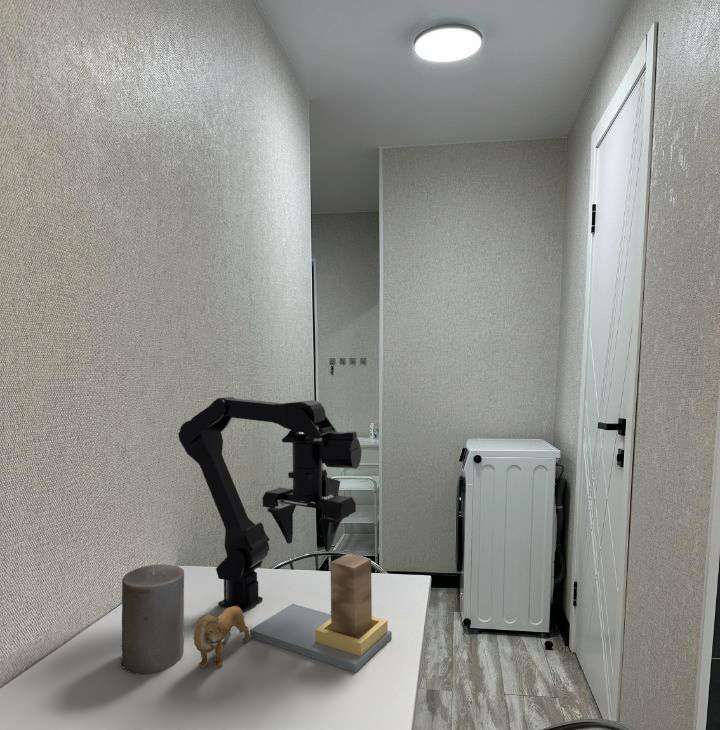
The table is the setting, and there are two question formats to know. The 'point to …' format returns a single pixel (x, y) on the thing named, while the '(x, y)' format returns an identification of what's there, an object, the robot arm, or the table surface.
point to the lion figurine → (218, 633)
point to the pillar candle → (152, 618)
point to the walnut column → (351, 596)
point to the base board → (321, 637)
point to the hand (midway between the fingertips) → (308, 546)
